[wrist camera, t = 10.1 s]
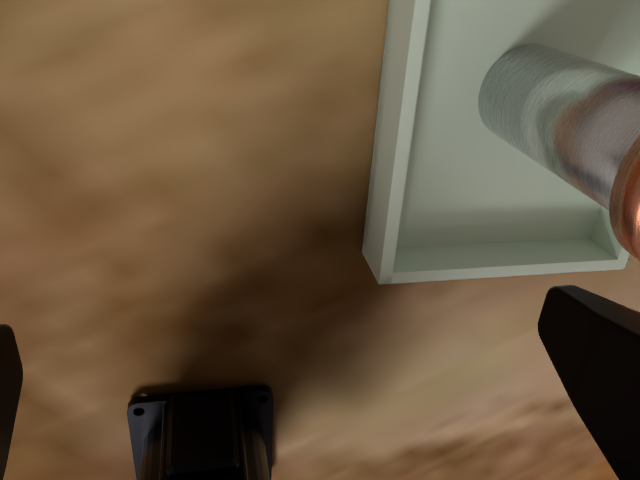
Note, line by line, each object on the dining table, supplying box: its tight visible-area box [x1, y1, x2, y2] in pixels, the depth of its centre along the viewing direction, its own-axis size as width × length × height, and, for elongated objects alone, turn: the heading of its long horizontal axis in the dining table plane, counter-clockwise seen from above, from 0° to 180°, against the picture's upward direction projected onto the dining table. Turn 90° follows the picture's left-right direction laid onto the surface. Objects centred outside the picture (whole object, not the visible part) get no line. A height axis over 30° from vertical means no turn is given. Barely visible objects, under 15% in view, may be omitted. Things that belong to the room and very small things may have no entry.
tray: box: [362, 0, 640, 285], centre depth 21 cm, size 14×11×2 cm
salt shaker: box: [478, 44, 640, 260], centre depth 17 cm, size 5×5×10 cm
